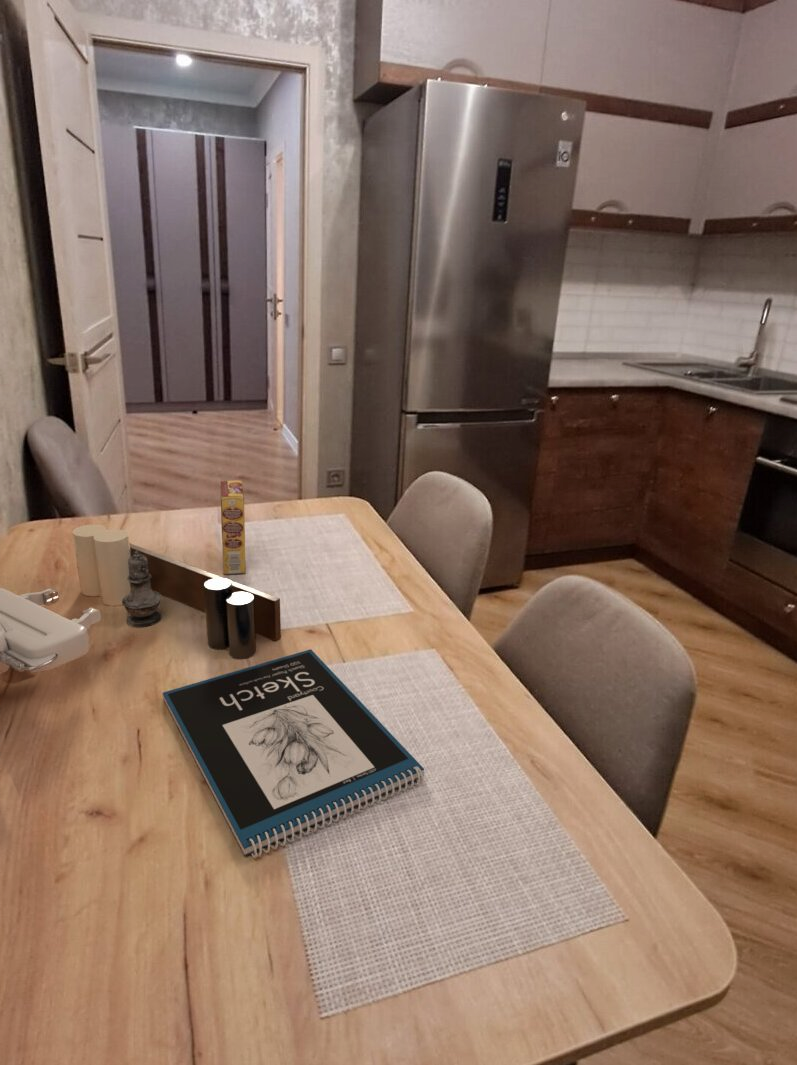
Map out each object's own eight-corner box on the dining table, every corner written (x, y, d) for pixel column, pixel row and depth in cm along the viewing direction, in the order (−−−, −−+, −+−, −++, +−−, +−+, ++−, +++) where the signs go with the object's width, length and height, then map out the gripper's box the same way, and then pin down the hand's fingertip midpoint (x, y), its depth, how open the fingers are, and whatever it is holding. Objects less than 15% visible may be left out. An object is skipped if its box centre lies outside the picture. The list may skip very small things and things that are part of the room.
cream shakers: (74, 590, 113) (64, 528, 109) (101, 579, 118) (92, 519, 113) (116, 609, 108) (107, 544, 104) (142, 596, 113) (135, 534, 108)
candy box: (247, 574, 122) (244, 495, 116) (223, 575, 121) (218, 496, 115) (245, 553, 130) (242, 479, 124) (222, 555, 129) (218, 480, 123)
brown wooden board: (113, 575, 119) (108, 539, 117) (118, 572, 120) (114, 537, 118) (276, 641, 102) (274, 601, 99) (281, 638, 103) (280, 598, 100)
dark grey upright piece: (132, 632, 102) (123, 561, 98) (119, 616, 106) (110, 547, 102) (169, 621, 106) (162, 552, 101) (155, 606, 110) (148, 539, 105)
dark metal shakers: (202, 644, 100) (197, 585, 96) (221, 632, 103) (217, 575, 100) (243, 662, 96) (240, 601, 93) (262, 649, 100) (259, 590, 96)
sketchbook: (310, 656, 99) (310, 644, 98) (428, 785, 76) (429, 770, 75) (162, 700, 88) (161, 686, 87) (248, 866, 65) (247, 850, 64)
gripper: (21, 651, 78) (121, 605, 89) (-72, 602, 87) (29, 565, 98) (30, 696, 80) (127, 645, 91) (-61, 643, 90) (36, 602, 101)
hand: (75, 603), depth 95 cm, fingers open, 8 cm apart
